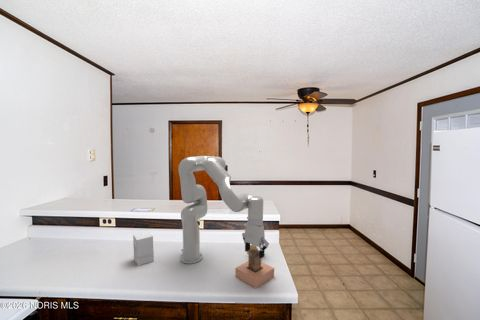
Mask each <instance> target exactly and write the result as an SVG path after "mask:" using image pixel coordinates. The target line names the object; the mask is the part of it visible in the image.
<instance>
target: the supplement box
mask: <svg viewBox="0 0 480 320" xmlns="http://www.w3.org/2000/svg"><path fill="white" fill-rule="evenodd" d="M132 238H133V239H132V243H133V260H134V262H135V264H136V265H137V266H138V267H139V266H142V265H146V264H150V263H153V262H154V261H155V258H154V256H155V255H154V235H152V234H151V233H150V232H149V231H146V232H141V233H137V234H132Z"/></svg>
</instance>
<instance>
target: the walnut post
mask: <svg viewBox="0 0 480 320" xmlns="http://www.w3.org/2000/svg"><path fill="white" fill-rule="evenodd" d="M259 251H260V249H258V250H257V249H255V248H254V249H252V250H250V251H249V255H248V261H249V267H248V269H249V270H251V271H253V272H255V273H256V272H258V271H259V270H261V262H262V258H261V259H260V258H259Z"/></svg>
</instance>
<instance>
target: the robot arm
mask: <svg viewBox="0 0 480 320" xmlns="http://www.w3.org/2000/svg"><path fill="white" fill-rule="evenodd" d="M199 171H205V172H206V173H207V175H208V176H209V177H210V178H211V180H212V181H213V182H214V183H215V184H216V185H217V186H218V187H217V188H218V192H219V195H220V197H221V200H222V201H223V203H224V204H225V205H226V206H227V207H228V209H229V210H231V211H232V212H234V213H241V212H242V211H245V210H246V209H247V218H246V219H247V222H246V225H245V229H244V232H242V233H241V235H242V239H243V243H244V251H245V252H247V251H249V250H250V245H254V246H256V247H257V248H259V250H260V251H259V258H260V259H261V260H262V258H265V252H266V251H265V250H267V249H268V247H269V245H270V243H269V242H268V241H267V239H266V238H265V236H266V235H265V226H264V199H263V197H262V196H257V195H251V194H247V193H240V194H239V195H237V194H236V193H235V192H234V191H233V190H232V188H231V180H232V175H230V173H229V172H227V170H226V161H225V160H224V158H223V157H220V156H212V155H211V156H210V155H197V156H188V157H184V158H183V159H182V160H181V161H180V163H179V164H178V175H179V180H180V192H181V194H180V195H181V199H182V201H183V203H185V204H188V205H187V206H184V208H182V209H181V212H180V219H181V223H182V249H181V250H180V251H181V252H182V254H181V256H180V257H179V259H180V262H181V263H184V264H189V265H190V264H197V263H199V262H201V261H202V259H203V254H202V253H201V252H200V251H201V250H200V245H201V244H200V243H201V242H200V241H201V240H200V239H201V238H200V234H201V233H200V226H199V224H198V220H200V219H202V218H204V217H205V216H206V215H207V213H208V197H207V191H206V189H205V187H204V186H203V185H201V184H197V181H196V177H195V174H194V172H199Z"/></svg>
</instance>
